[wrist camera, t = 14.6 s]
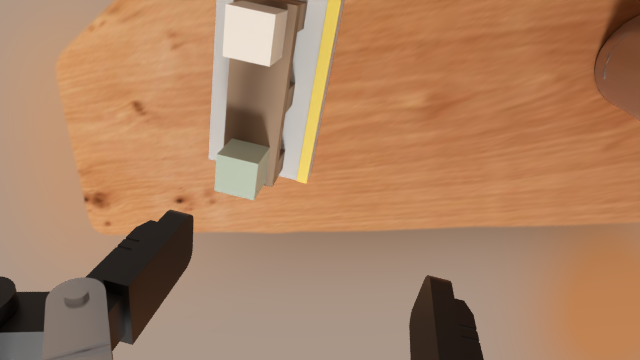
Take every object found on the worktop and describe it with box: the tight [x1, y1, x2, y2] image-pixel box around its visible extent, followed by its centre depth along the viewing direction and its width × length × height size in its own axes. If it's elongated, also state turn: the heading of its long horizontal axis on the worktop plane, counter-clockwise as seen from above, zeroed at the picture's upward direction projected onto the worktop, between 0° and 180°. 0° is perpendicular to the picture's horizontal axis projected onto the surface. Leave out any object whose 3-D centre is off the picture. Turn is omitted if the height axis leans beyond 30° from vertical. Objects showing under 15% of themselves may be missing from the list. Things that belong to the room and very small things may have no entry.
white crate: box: [223, 1, 288, 67], centre depth 34 cm, size 4×4×4 cm
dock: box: [209, 0, 345, 183], centre depth 44 cm, size 12×20×3 cm, turn 169°
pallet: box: [224, 0, 308, 187], centre depth 40 cm, size 6×18×4 cm, turn 169°
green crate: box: [215, 138, 270, 200], centre depth 40 cm, size 4×4×4 cm
